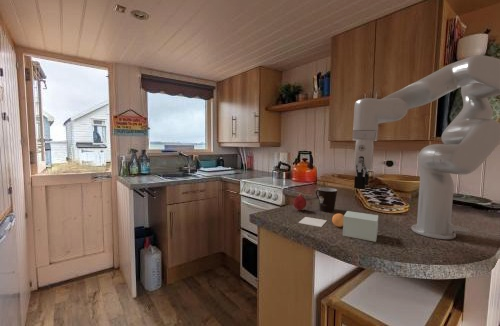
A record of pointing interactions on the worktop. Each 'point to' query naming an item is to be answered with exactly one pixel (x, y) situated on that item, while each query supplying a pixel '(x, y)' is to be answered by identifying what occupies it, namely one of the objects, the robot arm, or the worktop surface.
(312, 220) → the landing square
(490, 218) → the worktop surface
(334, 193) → the coffee mug
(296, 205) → the onion
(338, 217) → the ball
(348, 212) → the pale sage box
